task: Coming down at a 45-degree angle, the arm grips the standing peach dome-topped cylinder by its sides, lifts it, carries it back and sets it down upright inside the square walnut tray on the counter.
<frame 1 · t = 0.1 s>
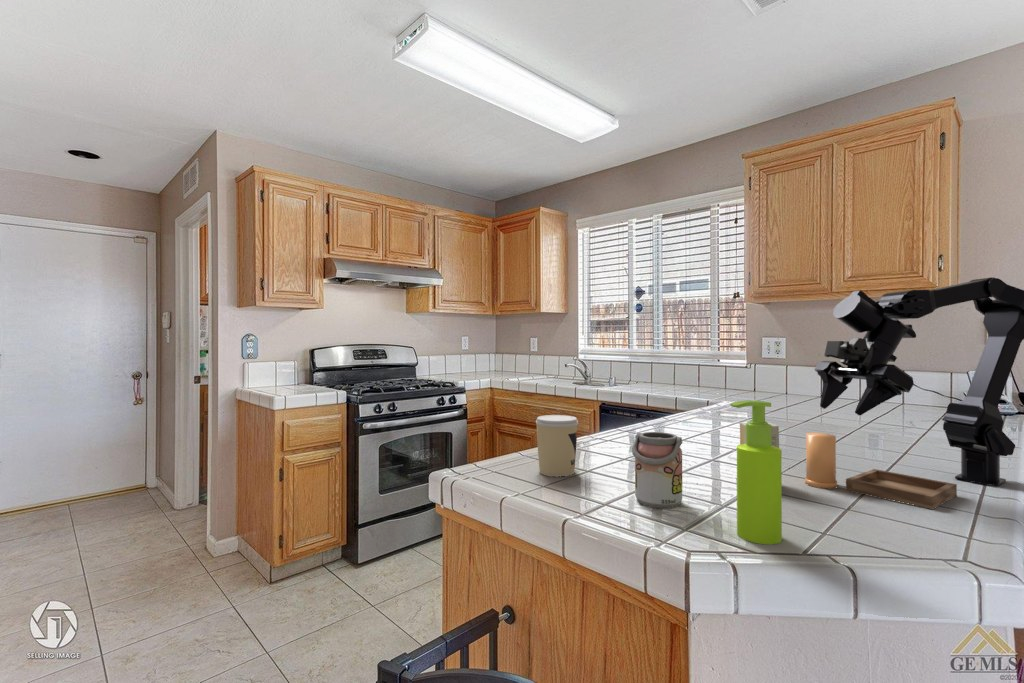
hand: (839, 410, 97), 15 cm above the countertop, tool tilted 35°, fingers open, 9 cm apart
printed pail with handle: (657, 504, 86), on the countertop
peach dome-topped cylinder: (820, 484, 97), on the countertop
skincare box: (759, 485, 98), on the countertop
walnut tray: (900, 493, 92), on the countertop
coffee cup: (556, 473, 107), on the countertop
soap dispenser: (755, 537, 71), on the countertop
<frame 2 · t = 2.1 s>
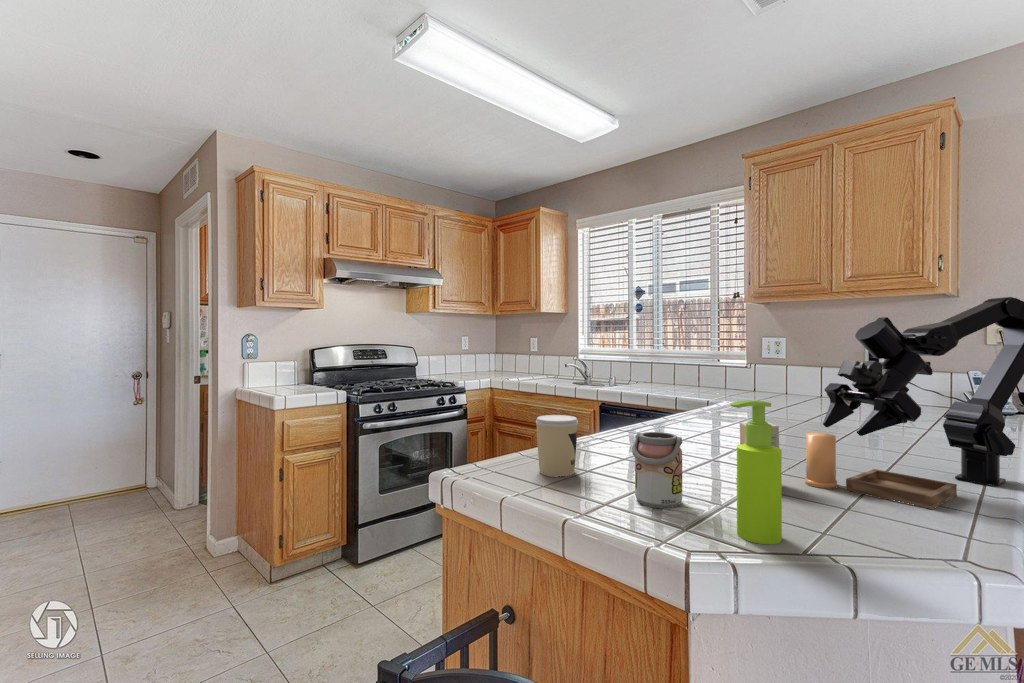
hand: (840, 429, 97), 11 cm above the countertop, tool tilted 45°, fingers open, 9 cm apart
nothing on the countertop moved.
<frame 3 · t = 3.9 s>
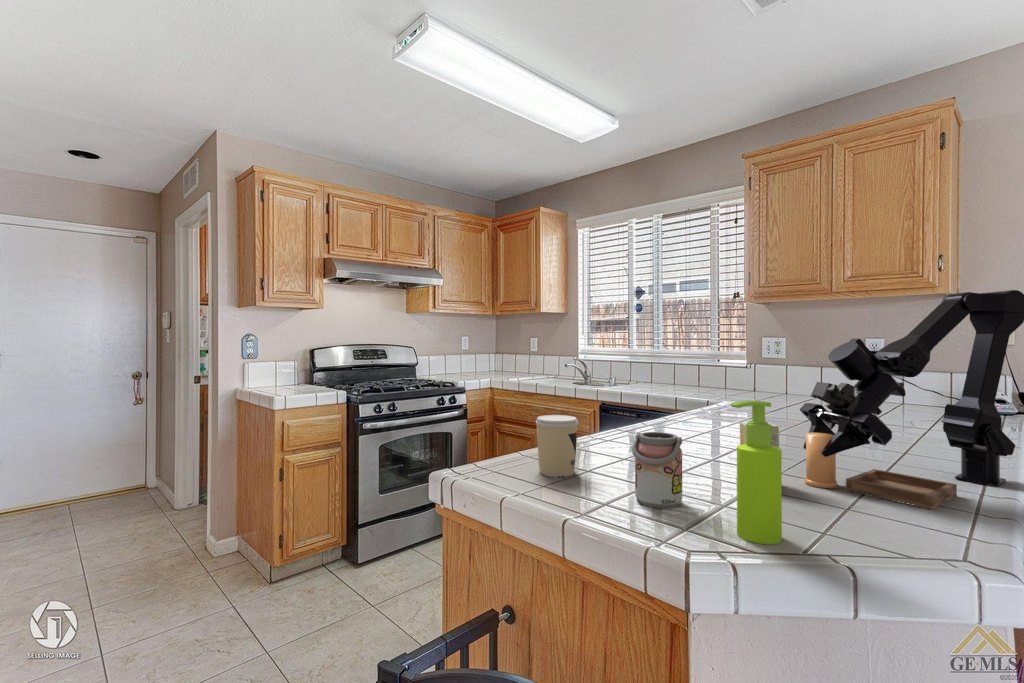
hand: (814, 451, 97), 7 cm above the countertop, tool tilted 45°, fingers closed on peach dome-topped cylinder, 5 cm apart
peach dome-topped cylinder: (820, 484, 97), on the countertop, touching gripper
everything else where it was.
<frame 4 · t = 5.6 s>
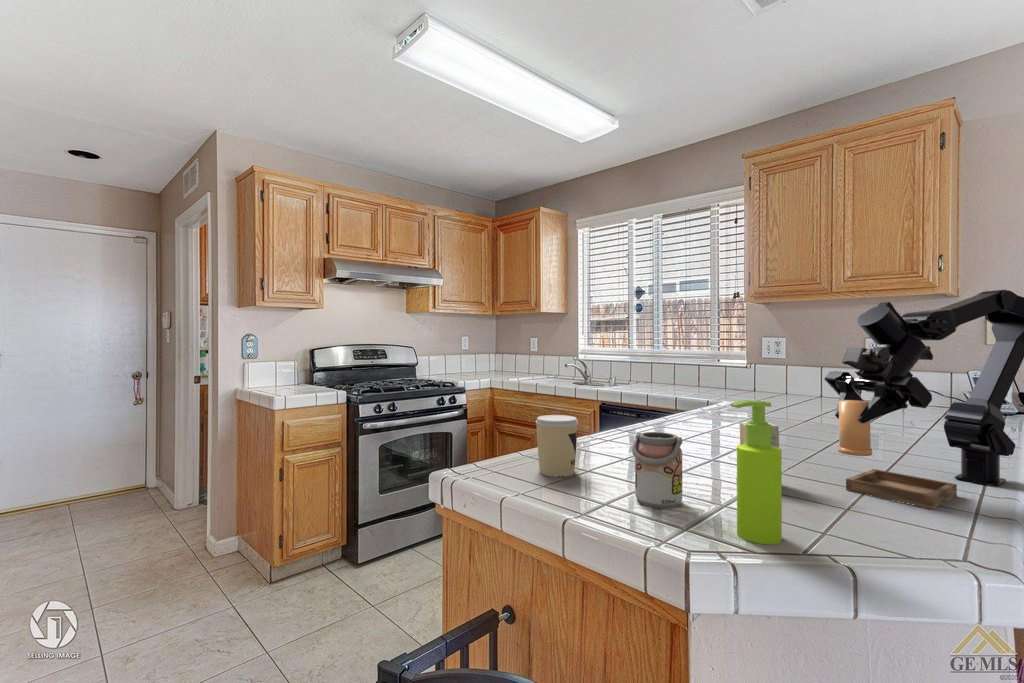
hand: (848, 419, 94), 14 cm above the countertop, tool tilted 45°, fingers closed on peach dome-topped cylinder, 5 cm apart
peach dome-topped cylinder: (855, 452, 95), point 7 cm above the countertop, touching gripper
everything else where it was.
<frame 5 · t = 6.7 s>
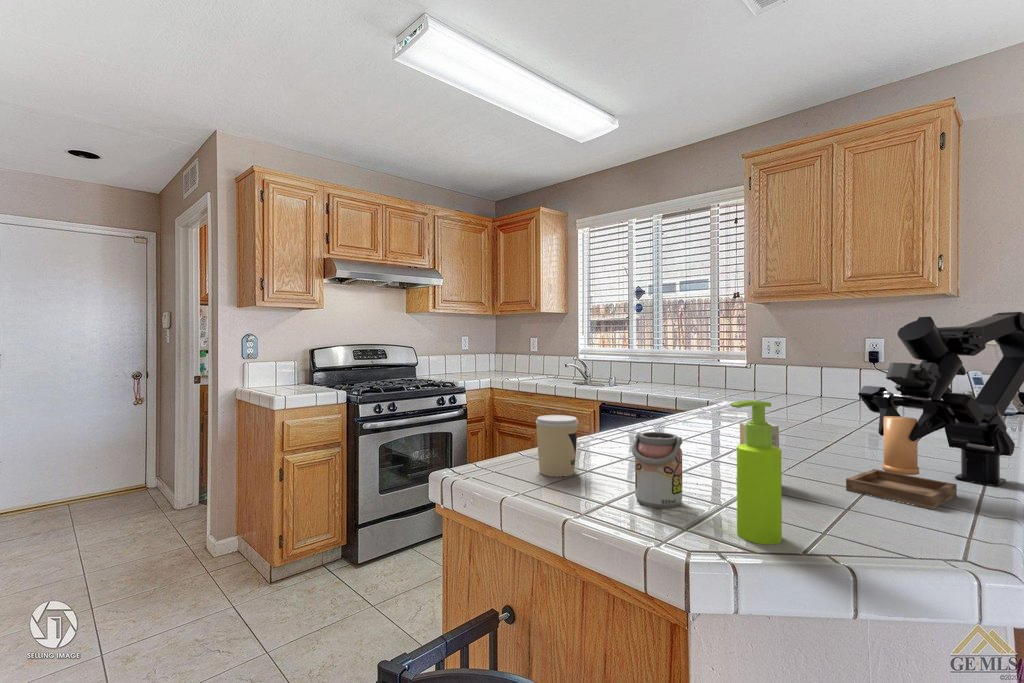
hand: (895, 436, 91), 11 cm above the countertop, tool tilted 45°, fingers closed on peach dome-topped cylinder, 5 cm apart
peach dome-topped cylinder: (900, 470, 92), point 4 cm above the countertop, touching gripper
everything else where it was.
when the fingers open (9 cm above the countertop, at t = 7.5 s): peach dome-topped cylinder drops 1 cm, resting on walnut tray.
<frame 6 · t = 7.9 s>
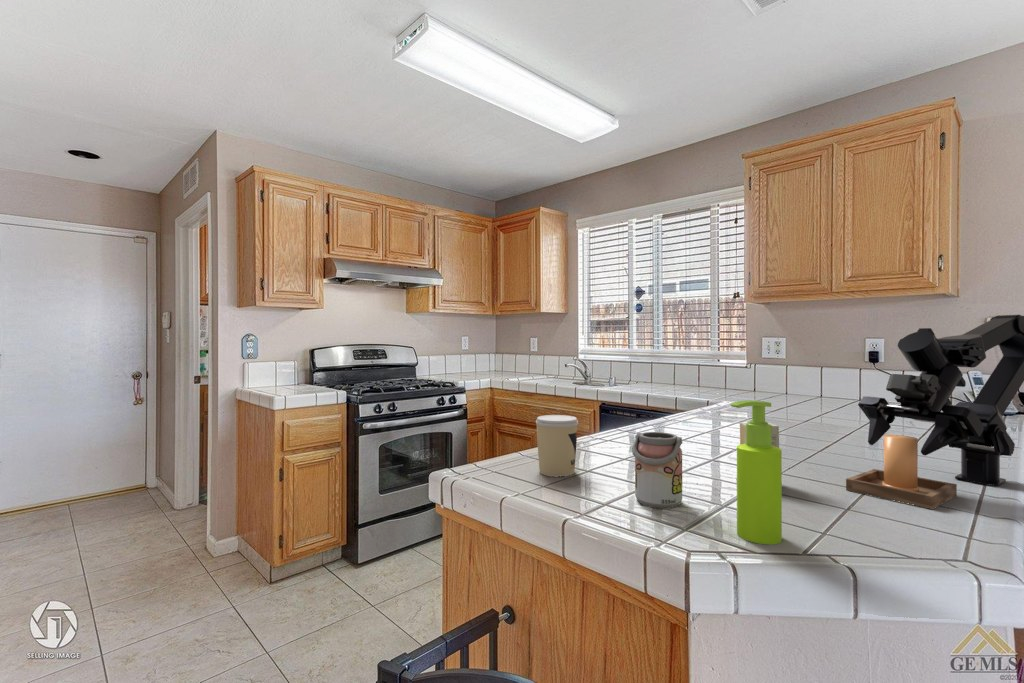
hand: (895, 448, 91), 9 cm above the countertop, tool tilted 45°, fingers open, 9 cm apart
peach dome-topped cylinder: (900, 489, 92), point 1 cm above the countertop, touching walnut tray
everything else where it was.
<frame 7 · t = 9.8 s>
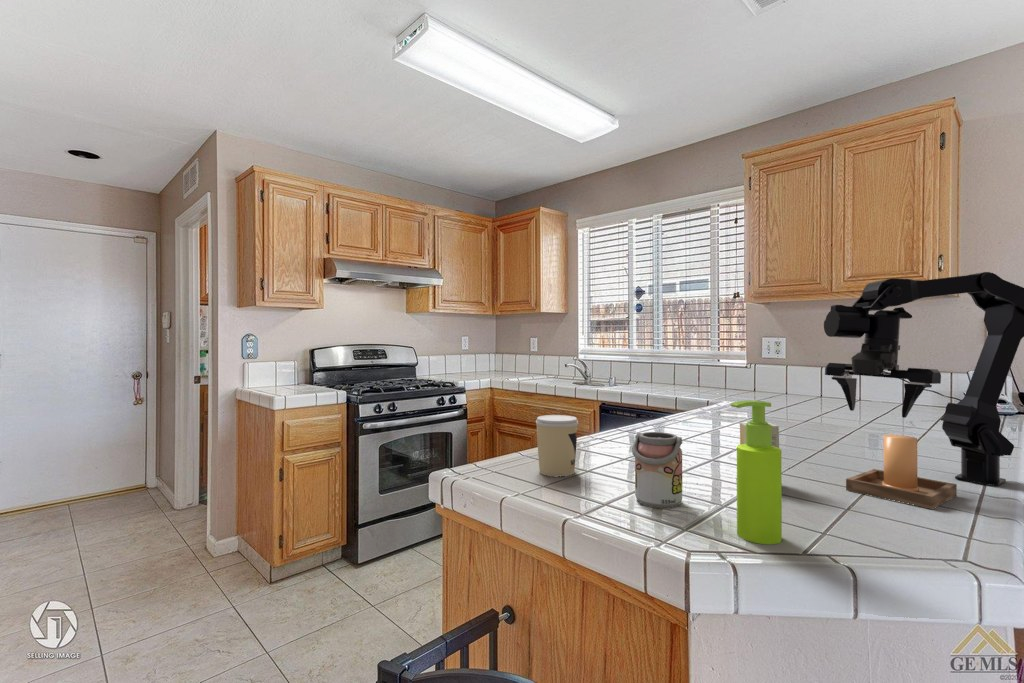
hand: (877, 413, 102), 14 cm above the countertop, tool pointing down, fingers open, 9 cm apart
nothing on the countertop moved.
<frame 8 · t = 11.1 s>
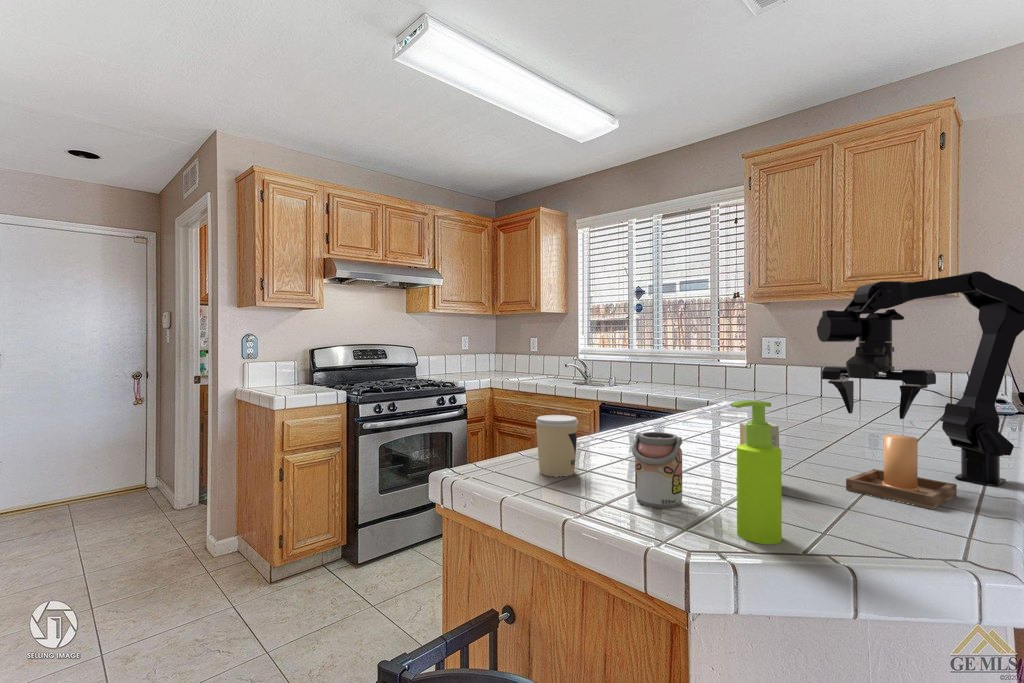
hand: (875, 416, 102), 13 cm above the countertop, tool pointing down, fingers open, 9 cm apart
nothing on the countertop moved.
at the end: peach dome-topped cylinder inside the target area on the walnut tray (0.0 cm from its centre), point 0.6 cm above the walnut tray's base; peach dome-topped cylinder tilted 0°; the gripper is holding nothing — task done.
